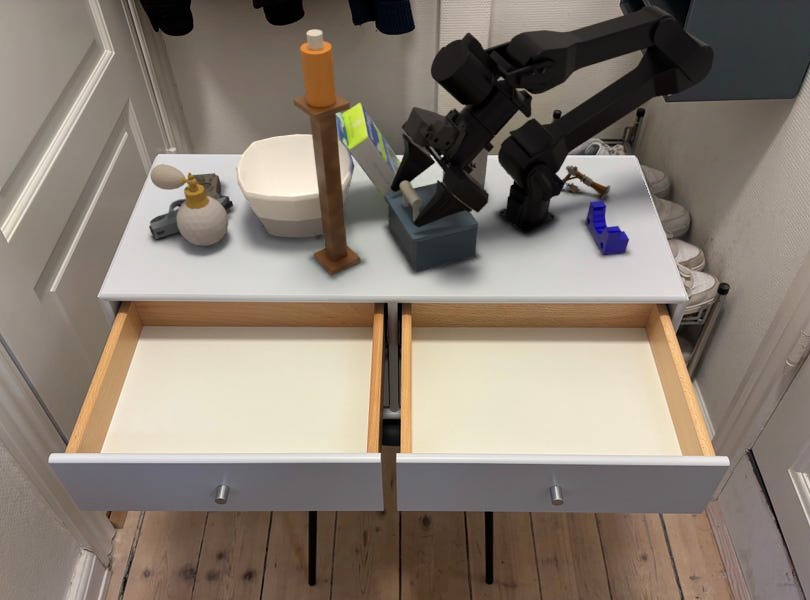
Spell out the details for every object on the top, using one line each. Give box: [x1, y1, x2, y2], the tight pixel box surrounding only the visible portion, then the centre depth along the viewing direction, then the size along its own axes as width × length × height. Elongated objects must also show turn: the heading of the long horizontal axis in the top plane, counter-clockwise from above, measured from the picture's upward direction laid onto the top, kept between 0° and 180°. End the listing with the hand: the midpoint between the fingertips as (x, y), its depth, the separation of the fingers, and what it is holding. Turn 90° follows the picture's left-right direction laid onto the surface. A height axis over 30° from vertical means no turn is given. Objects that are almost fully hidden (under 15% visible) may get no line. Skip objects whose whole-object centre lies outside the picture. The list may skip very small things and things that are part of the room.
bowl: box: [236, 133, 355, 238], centre depth 103 cm, size 18×18×9 cm
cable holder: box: [584, 200, 630, 256], centre depth 101 cm, size 8×4×4 cm, turn 8°
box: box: [336, 102, 413, 198], centre depth 103 cm, size 10×4×17 cm, turn 9°
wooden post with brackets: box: [561, 165, 611, 201], centre depth 109 cm, size 2×8×4 cm, turn 72°
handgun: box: [148, 172, 234, 240], centre depth 107 cm, size 2×14×12 cm
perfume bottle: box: [150, 163, 229, 247], centre depth 98 cm, size 8×10×12 cm
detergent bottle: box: [299, 28, 337, 108], centre depth 78 cm, size 4×4×8 cm
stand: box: [293, 93, 361, 276], centre depth 90 cm, size 5×5×25 cm
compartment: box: [387, 204, 479, 273], centre depth 100 cm, size 10×12×5 cm
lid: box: [383, 181, 479, 244], centre depth 96 cm, size 10×12×5 cm
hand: (403, 207), depth 95 cm, fingers open, 9 cm apart
